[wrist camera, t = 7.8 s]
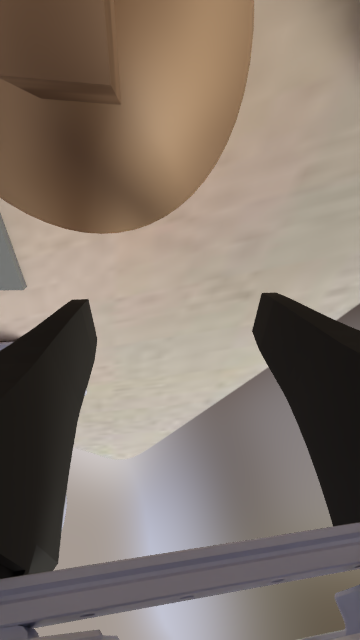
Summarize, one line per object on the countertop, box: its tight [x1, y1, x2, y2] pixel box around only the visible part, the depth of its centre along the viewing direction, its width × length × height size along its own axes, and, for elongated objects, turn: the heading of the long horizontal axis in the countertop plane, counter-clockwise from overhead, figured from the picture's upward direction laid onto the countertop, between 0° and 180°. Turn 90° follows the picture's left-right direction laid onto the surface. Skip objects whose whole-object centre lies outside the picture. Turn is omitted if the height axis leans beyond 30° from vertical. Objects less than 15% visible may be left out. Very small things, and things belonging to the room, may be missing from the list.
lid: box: [0, 0, 254, 234], centre depth 7 cm, size 13×13×4 cm
